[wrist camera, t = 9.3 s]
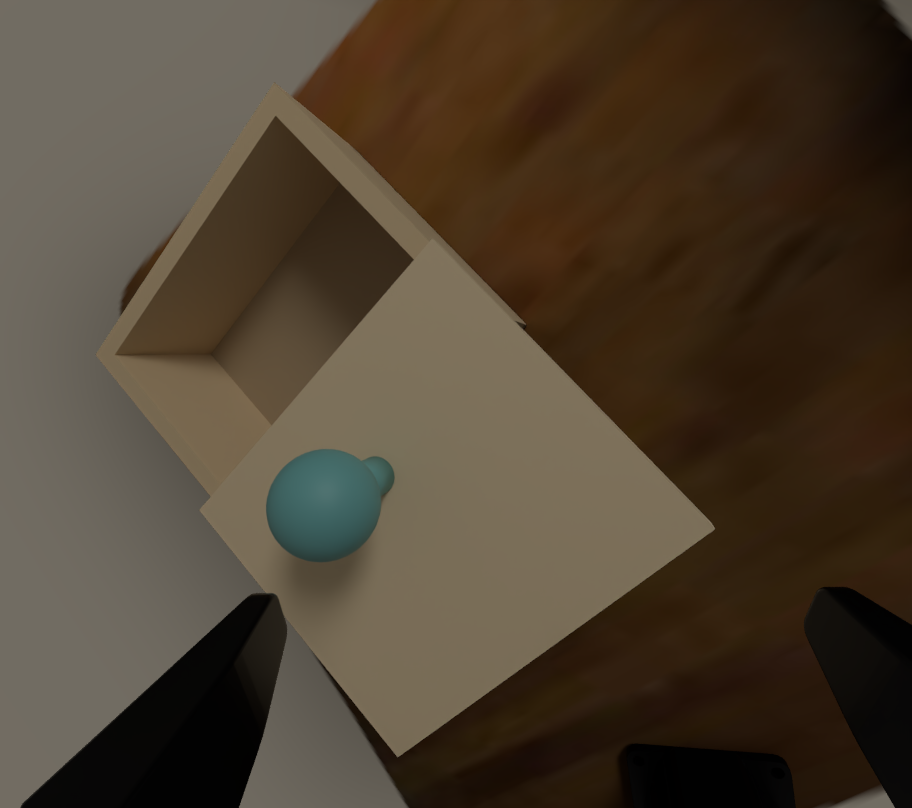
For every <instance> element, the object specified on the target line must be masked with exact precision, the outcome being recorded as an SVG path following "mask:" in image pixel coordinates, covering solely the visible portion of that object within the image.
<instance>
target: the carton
mask: <svg viewBox="0 0 912 808" xmlns="http://www.w3.org/2000/svg"><path fill="white" fill-rule="evenodd" d="M431 239H434V240H435V241H437V242H438V243H439V244H440V245H441V246H442V247H443V248H444V249H445V250H446V251H447V252H448V253H449V254H450V255H451V256H452V257H453V258H454V259H455V260H456V261H457V262H458V263H459V264H460V265H461V266H462V267H463V268H464V270H465V271H466V272H467V273H468V274H469V275H470V276H471V277H472V278H473V279H474V280H475V281H476V282H477V283H478V284H479V285H480V286H481V287H482V288H483V289H484V290H485V291H486V292H487V293H488V294H489V295H490V296H491V297H492V298H493V299H494V300H495V301H496V302H497V303H498V304H499V305H500V306H501V307H502V308H503V309H504V311H505V312H506V313H507V314H508V315H509V316H510V317H511V318H512V319H513V320H514V321H515V322H516V323H517V324H518V325H519V326H520V327H521V328H522V329H524V328H525V327H526V326H527V325H526V323H525V322H524V321H523V320H522V319H521V318H520V317H519V316H518V315H517V314H516V313H515V312H514V311H513V310H512V309H511V308H510V307H509V306H508V305H507V304H506V303H505V302H504V301H503V300H502V299H501V298H500V297H499V296H498V295H497V294H496V293H495V292H494V291H493V290H492V289H491V288H490V287H489V286H488V285H487V284H486V283H485V282H484V281H483V280H482V279H481V277H480V276H479V275H478V274H477V273H476V272H475V271H474V270H473V269H472V268H471V267H470V266H469V265H468V264H467V263H466V262H465V261H464V260H463V259H462V258H461V257H460V256H459V255H458V254H457V253H456V252H455V251H454V250H453V249H452V248H451V247H450V246H449V245H448V244H447V243H446V242H445V241H444V240H443V239H442V238H441V237H440V236H439V235H438V234H437V233H436V231H435V230H434V229H433V228H432V227H431V226H430V225H429V224H428V223H427V222H426V221H425V220H424V219H423V218H422V217H421V216H420V215H419V214H418V213H417V212H416V211H415V210H414V209H413V208H412V207H411V206H410V205H409V204H408V203H407V202H406V201H405V200H404V199H403V198H402V197H401V196H400V195H399V194H398V193H397V192H396V191H395V190H394V189H393V188H392V187H391V185H390V184H389V183H388V182H387V181H386V180H385V179H384V178H383V177H382V176H381V175H380V174H379V173H378V172H377V171H376V170H375V169H374V168H373V167H372V166H371V165H370V164H369V163H368V162H367V161H366V160H365V159H364V158H363V157H362V156H361V155H360V154H359V153H358V152H357V151H356V150H355V149H354V148H353V147H352V146H350V145H349V144H348V143H347V142H346V141H344V140H343V139H342V138H341V137H340V136H338V135H337V134H336V133H335V132H334V131H332V130H331V129H330V128H329V127H328V126H326V125H325V124H324V123H323V122H322V121H320V120H319V119H318V118H317V117H316V116H314V115H313V114H312V113H311V112H310V111H308V110H307V109H306V108H305V107H304V106H302V105H301V104H300V103H299V102H298V101H296V100H295V99H294V98H293V97H291V96H290V95H289V94H288V93H287V92H285V91H284V90H283V89H282V88H281V87H279V86H278V85H277V84H276V83H274V84H273V85H272V87H271V88H270V90H269V91H268V93H267V94H266V96H265V97H264V99H263V100H262V102H261V103H260V105H259V106H258V108H257V110H256V111H255V113H254V114H253V116H252V117H251V119H250V120H249V122H248V123H247V125H246V126H245V128H244V129H243V131H242V132H241V134H240V135H239V137H238V139H237V140H236V142H235V143H234V144H233V146H232V148H231V149H230V151H229V152H228V154H227V155H226V157H225V158H224V160H223V161H222V163H221V164H220V166H219V167H218V169H217V170H216V172H215V173H214V175H213V177H212V178H211V180H210V181H209V183H208V184H207V186H206V187H205V189H204V190H203V192H202V193H201V195H200V196H199V198H198V199H197V201H196V202H195V204H194V206H193V207H192V208H191V210H190V212H189V213H188V215H187V216H186V218H185V219H184V221H183V222H182V224H181V225H180V227H179V228H178V230H177V231H176V233H175V234H174V236H173V237H172V239H171V240H170V242H169V244H168V245H167V247H166V248H165V250H164V251H163V253H162V254H161V256H160V257H159V259H158V260H157V262H156V263H155V265H154V266H153V268H152V269H151V271H150V272H149V274H148V276H147V277H146V279H145V280H144V282H143V283H142V285H141V286H140V288H139V289H138V291H137V292H136V294H135V295H134V297H133V298H132V300H131V301H130V303H129V304H128V306H127V307H126V309H125V311H124V312H123V314H122V315H121V317H120V318H119V320H118V321H117V323H116V324H115V326H114V327H113V329H112V331H111V332H110V333H109V335H108V336H107V338H106V339H105V341H104V343H103V344H102V346H101V347H100V349H99V350H98V352H97V353H96V356H97V357H98V358H99V360H100V361H101V362H102V363H103V365H104V366H105V367H106V368H107V370H108V371H109V372H110V373H111V374H112V376H113V377H114V378H115V379H116V381H117V382H118V383H119V384H120V386H121V387H122V388H123V389H124V391H125V392H126V393H127V394H128V395H129V397H130V398H131V399H132V400H133V402H134V403H135V404H136V405H137V407H138V408H139V409H140V410H141V411H142V413H143V414H144V415H145V416H146V418H147V419H148V420H149V421H150V423H151V424H152V425H153V426H154V427H155V429H156V430H157V431H158V432H159V434H160V435H161V436H162V437H163V439H165V441H166V442H167V444H168V445H169V446H170V447H171V448H172V450H173V451H174V452H175V453H176V455H178V457H179V458H180V460H181V461H182V462H183V463H184V464H185V466H186V467H187V468H188V469H189V471H190V472H191V473H192V474H193V476H194V477H195V478H196V479H197V480H198V482H199V483H200V484H201V485H202V487H203V488H204V489H205V490H206V492H207V493H208V494H209V495H210V497H211V496H212V494H213V493H214V492H215V491H216V490H217V489H218V487H219V486H220V485H221V484H222V483H223V482H224V481H225V479H226V478H227V477H228V476H229V475H230V474H231V472H232V471H233V470H234V469H235V468H236V467H237V465H238V464H239V463H240V462H241V461H242V460H243V458H244V457H245V456H246V455H247V454H248V453H249V451H250V450H251V449H252V448H253V447H254V446H255V444H256V443H257V442H258V441H259V440H260V439H261V437H262V436H263V435H264V434H265V433H266V432H267V430H268V429H269V428H270V427H271V426H272V425H273V423H274V422H275V421H276V420H277V419H278V418H279V416H280V415H281V414H282V413H283V412H284V411H285V409H286V408H287V407H288V406H289V405H290V404H291V402H292V401H293V400H294V399H295V398H296V397H297V395H298V394H299V393H300V392H301V391H302V390H303V388H304V387H305V386H306V385H307V384H308V383H309V381H310V380H311V379H312V378H313V377H314V376H315V374H316V373H317V372H318V371H319V370H320V369H321V367H322V366H323V365H324V364H325V363H326V362H327V360H328V359H329V358H330V357H331V356H332V355H333V353H334V352H335V351H336V350H337V349H338V348H339V346H340V345H341V344H342V343H343V342H344V341H345V339H346V338H347V337H348V336H349V335H350V334H351V332H352V331H353V330H354V329H355V328H356V327H357V326H358V324H359V323H360V322H361V321H362V320H363V319H364V317H365V316H366V315H367V314H368V313H369V312H370V310H371V309H372V308H373V307H374V306H375V305H376V303H377V302H378V301H379V300H380V299H381V298H382V296H383V295H384V294H385V293H386V292H387V291H388V289H389V288H390V287H391V286H392V285H393V284H394V282H395V281H396V280H397V279H398V278H399V277H400V275H401V274H402V273H403V272H404V271H405V270H406V268H407V267H408V266H409V265H410V264H411V263H412V261H413V260H414V259H415V258H416V257H417V256H418V254H419V253H420V252H421V251H422V250H423V249H424V247H425V246H426V245H427V244H428V243H429V242H430V240H431Z"/></svg>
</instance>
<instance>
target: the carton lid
mask: <svg viewBox="0 0 912 808" xmlns="http://www.w3.org/2000/svg"><path fill="white" fill-rule="evenodd" d="M199 511H200V512H201V513H202V514H203V516H204V517H205V518H206V519H207V521H208V522H209V523H210V524H211V526H212V527H213V528H214V529H215V530H216V532H217V533H218V534H219V535H220V536H221V538H222V539H223V541H224V542H225V543H226V544H227V545H228V547H229V548H230V549H231V550H232V552H233V553H234V554H235V555H236V557H237V558H238V559H239V560H240V562H241V563H242V564H243V565H244V567H245V568H246V569H247V570H248V572H249V573H250V574H251V575H252V577H253V578H254V579H255V580H256V582H257V583H258V584H259V585H260V587H261V588H262V589H263V590H264V591H265V593H274V594H276V595H277V596H278V598H279V601H280V605H281V608H282V611H283V615H284V616H285V617H286V619H287V620H288V621H289V623H290V624H291V625H292V626H293V628H294V629H295V630H296V631H297V633H298V634H299V635H300V636H301V638H302V639H303V640H304V641H305V643H306V644H307V645H308V646H309V648H310V649H311V650H312V651H313V653H314V654H315V655H316V656H317V658H318V659H319V660H320V661H321V662H322V664H323V665H324V666H325V667H326V669H327V670H328V671H329V672H330V674H331V675H332V676H333V677H334V679H335V680H336V681H337V682H338V684H339V685H340V686H341V687H342V689H343V690H344V691H345V692H346V694H347V695H348V696H349V697H350V699H351V700H352V701H353V702H354V704H355V705H356V706H357V707H358V709H359V710H360V711H361V712H362V714H363V715H364V716H365V717H366V718H367V720H368V721H369V722H370V723H371V725H372V726H373V727H374V728H375V730H376V731H377V732H378V733H379V735H380V736H381V737H382V738H383V740H384V741H385V742H386V743H387V745H388V746H389V747H390V748H391V750H392V751H393V752H394V753H395V755H396V756H397V757H399V756H400V755H402V754H403V753H404V752H406V751H407V750H409V749H410V748H411V747H413V746H414V745H416V744H417V743H418V742H420V741H421V740H423V739H424V738H425V737H427V736H428V735H430V734H431V733H432V732H434V731H435V730H436V729H438V728H439V727H441V726H442V725H443V724H445V723H446V722H448V721H449V720H450V719H452V718H453V717H455V716H456V715H457V714H459V713H460V712H462V711H463V710H464V709H466V708H467V707H468V706H470V705H471V704H473V703H474V702H475V701H477V700H478V699H480V698H481V697H482V696H484V695H485V694H487V693H488V692H489V691H491V690H492V689H493V688H495V687H496V686H498V685H499V684H500V683H502V682H503V681H505V680H506V679H507V678H509V677H510V676H512V675H513V674H514V673H516V672H517V671H519V670H520V669H521V668H523V667H524V666H525V665H527V664H528V663H530V662H531V661H532V660H534V659H535V658H537V657H538V656H539V655H541V654H542V653H544V652H545V651H546V650H548V649H549V648H550V647H552V646H553V645H555V644H556V643H557V642H559V641H560V640H562V639H563V638H564V637H566V636H567V635H569V634H570V633H571V632H573V631H574V630H576V629H577V628H578V627H580V626H581V625H582V624H584V623H585V622H587V621H588V620H589V619H591V618H592V617H594V616H595V615H596V614H598V613H599V612H601V611H602V610H603V609H605V608H606V607H607V606H609V605H610V604H612V603H613V602H614V601H616V600H617V599H619V598H620V597H621V596H623V595H624V594H626V593H627V592H628V591H630V590H631V589H633V588H634V587H635V586H637V585H638V584H639V583H641V582H642V581H644V580H645V579H646V578H648V577H649V576H651V575H652V574H653V573H655V572H656V571H658V570H659V569H660V568H662V567H663V566H665V565H666V564H667V563H669V562H670V561H671V560H673V559H674V558H676V557H677V556H678V555H680V554H681V553H683V552H684V551H685V550H687V549H688V548H690V547H691V546H692V545H694V544H695V543H696V542H698V541H699V540H701V539H702V538H703V537H705V536H706V535H708V534H709V533H710V532H712V531H713V530H715V528H714V526H713V525H712V523H711V522H710V521H709V520H708V519H707V518H706V517H705V516H704V515H703V514H702V513H701V512H700V511H699V509H698V508H697V507H696V506H695V505H694V504H693V503H692V502H691V501H690V500H689V499H688V498H687V497H686V496H685V495H684V494H683V493H682V492H681V491H680V490H679V489H678V488H677V487H676V486H675V485H674V484H673V483H672V482H671V481H670V480H669V479H668V478H667V477H666V476H665V475H664V474H663V473H662V472H661V471H660V469H659V468H658V467H657V466H656V465H655V464H654V463H653V462H652V461H651V460H650V459H649V458H648V457H647V456H646V455H645V454H644V453H643V452H642V451H641V450H640V449H639V448H638V447H637V446H636V445H635V444H634V443H633V442H632V441H631V440H630V439H629V438H628V437H627V436H626V435H625V434H624V433H623V432H622V431H621V429H620V428H619V427H618V426H617V425H616V424H615V423H614V422H613V421H612V420H611V419H610V418H609V417H608V416H607V415H606V414H605V413H604V412H603V411H602V410H601V409H600V408H599V407H598V406H597V405H596V404H595V403H594V402H593V401H592V400H591V399H590V398H589V397H588V396H587V395H586V394H585V393H584V392H583V391H582V389H581V388H580V387H579V386H578V385H577V384H576V383H575V382H574V381H573V380H572V379H571V378H570V377H569V376H568V375H567V374H566V373H565V372H564V371H563V370H562V369H561V368H560V367H559V366H558V365H557V364H556V363H555V362H554V361H553V360H552V359H551V358H550V357H549V356H548V355H547V354H546V353H545V352H544V351H543V349H542V348H541V347H540V346H539V345H538V344H537V343H536V342H535V341H534V340H533V339H532V338H531V337H530V336H529V335H528V334H527V333H526V332H525V331H524V330H523V329H522V328H521V327H520V326H519V325H518V324H517V323H516V322H515V321H514V320H513V319H512V318H511V317H510V316H509V315H508V314H507V313H506V312H505V311H504V309H503V308H502V307H501V306H500V305H499V304H498V303H497V302H496V301H495V300H494V299H493V298H492V297H491V296H490V295H489V294H488V293H487V292H486V291H485V290H484V289H483V288H482V287H481V286H480V285H479V284H478V283H477V282H476V281H475V280H474V279H473V278H472V277H471V276H470V275H469V274H468V273H467V272H466V271H465V270H464V268H463V267H462V266H461V265H460V264H459V263H458V262H457V261H456V260H455V259H454V258H453V257H452V256H451V255H450V254H449V253H448V252H447V251H446V250H445V249H444V248H443V247H442V246H441V245H440V244H439V243H438V242H437V241H435V240H434V239H431V240H430V242H429V243H428V244H427V245H426V246H425V247H424V249H423V250H422V251H421V252H420V253H419V254H418V256H417V257H416V258H415V259H414V260H413V261H412V263H411V264H410V265H409V266H408V267H407V268H406V270H405V271H404V272H403V273H402V274H401V275H400V277H399V278H398V279H397V280H396V281H395V282H394V284H393V285H392V286H391V287H390V288H389V289H388V291H387V292H386V293H385V294H384V295H383V296H382V298H381V299H380V300H379V301H378V302H377V303H376V305H375V306H374V307H373V308H372V309H371V310H370V312H369V313H368V314H367V315H366V316H365V317H364V319H363V320H362V321H361V322H360V323H359V324H358V326H357V327H356V328H355V329H354V330H353V331H352V332H351V334H350V335H349V336H348V337H347V338H346V339H345V341H344V342H343V343H342V344H341V345H340V346H339V348H338V349H337V350H336V351H335V352H334V353H333V355H332V356H331V357H330V358H329V359H328V360H327V362H326V363H325V364H324V365H323V366H322V367H321V369H320V370H319V371H318V372H317V373H316V374H315V376H314V377H313V378H312V379H311V380H310V381H309V383H308V384H307V385H306V386H305V387H304V388H303V390H302V391H301V392H300V393H299V394H298V395H297V397H296V398H295V399H294V400H293V401H292V402H291V404H290V405H289V406H288V407H287V408H286V409H285V411H284V412H283V413H282V414H281V415H280V416H279V418H278V419H277V420H276V421H275V422H274V423H273V425H272V426H271V427H270V428H269V429H268V430H267V432H266V433H265V434H264V435H263V436H262V437H261V439H260V440H259V441H258V442H257V443H256V444H255V446H254V447H253V448H252V449H251V450H250V451H249V453H248V454H247V455H246V456H245V457H244V458H243V460H242V461H241V462H240V463H239V464H238V465H237V467H236V468H235V469H234V470H233V471H232V472H231V474H230V475H229V476H228V477H227V478H226V479H225V481H224V482H223V483H222V484H221V485H220V486H219V487H218V489H217V490H216V491H215V492H214V493H213V494H212V496H211V497H210V498H209V499H208V500H207V501H206V503H205V504H204V505H203V506H202V507H201V508H200V510H199Z"/></svg>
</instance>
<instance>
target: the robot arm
mask: <svg viewBox="0 0 912 808" xmlns="http://www.w3.org/2000/svg"><path fill="white" fill-rule="evenodd" d="M804 629H805V633H806V636H807V639H808V641H809V643H810V645H811V647H812V649H813V651H814V653H815V656H816V658H817V660H818V662H819V664H820V666H821V668H822V670H823V673H824V675H825V677H826V679H827V681H828V683H829V685H830V687H831V690H832V692H833V694H834V696H835V698H836V700H837V702H838V704H839V706H840V709H841V711H842V713H843V715H844V717H845V719H846V721H847V723H848V725H849V727H850V729H851V731H852V733H853V735H854V737H855V739H856V741H857V742H858V744H859V746H860V748H861V750H862V751H863V753H864V755H865V757H866V759H867V760H868V762H869V764H870V765H871V767H872V769H873V771H874V772H875V774H876V776H877V777H878V779H879V781H880V783H881V784H882V786H883V788H884V790H885V791H886V793H887V795H888V796H889V798H890V800H891V802H892V803H893V805H894V807H895V808H912V625H911V624H909V623H908V622H906V621H904V620H903V619H901V618H899V617H898V616H896V615H894V614H893V613H891V612H889V611H888V610H886V609H885V608H883V607H881V606H880V605H878V604H876V603H875V602H873V601H871V600H870V599H868V598H866V597H865V596H863V595H862V594H860V593H858V592H857V591H855V590H853V589H850V588H847V587H823V588H820V589H819V590H818V591H817V592H816V594H815V596H814V599H813V601H812V603H811V606H810V608H809V610H808V612H807V615H806V617H805V620H804ZM286 637H287V625H286V621H285V618H284V615H283V611H282V608H281V605H280V601H279V598H278V596H277V595H276V594H274V593H256V594H251V595H250V596H248V597H247V598H246V599H245V600H244V601H242V602H241V603H240V604H239V605H238V606H237V607H236V608H235V609H234V610H233V611H232V612H231V613H229V614H228V615H227V616H226V617H225V618H224V619H223V620H222V621H221V622H220V623H219V624H217V625H216V626H215V627H214V628H213V629H212V630H211V631H210V632H209V633H208V634H207V635H205V636H204V637H203V638H202V639H201V640H200V641H199V642H198V643H197V644H196V645H195V646H193V648H191V649H190V650H189V651H188V652H187V653H186V654H185V655H184V656H183V657H181V658H180V660H178V661H177V662H176V663H175V664H174V665H173V666H172V667H171V668H170V669H168V670H167V671H166V672H165V673H164V674H163V675H162V676H161V677H160V678H159V679H158V680H157V681H155V682H154V683H153V684H152V685H151V686H150V687H149V688H148V689H147V690H146V691H144V692H143V693H142V694H141V695H140V696H139V697H138V698H137V699H136V700H135V701H134V702H132V703H131V704H130V706H128V707H127V708H126V709H125V710H124V711H123V712H122V713H120V714H119V715H118V716H117V717H116V718H115V719H114V720H113V721H112V722H111V723H110V724H108V725H107V726H106V727H105V728H104V729H103V730H102V731H101V732H100V733H99V734H98V735H97V736H95V737H94V738H93V739H92V740H91V741H90V742H89V743H88V744H87V745H86V746H85V747H84V748H82V749H81V750H80V751H79V752H78V753H77V754H76V755H75V756H74V757H73V758H71V759H70V760H69V761H68V762H67V763H66V764H65V765H64V766H63V767H62V768H61V769H59V770H58V771H57V772H56V773H55V774H54V775H53V776H52V777H51V778H50V779H49V780H47V781H46V782H45V783H44V784H43V785H42V786H41V787H40V788H39V789H38V790H37V791H36V792H34V793H33V794H32V795H31V796H30V797H29V798H28V799H27V800H26V801H25V802H24V803H23V804H22V805H21V808H239V806H240V803H241V799H242V797H243V794H244V791H245V788H246V785H247V782H248V779H249V776H250V773H251V770H252V767H253V765H254V762H255V758H256V756H257V753H258V750H259V746H260V743H261V740H262V737H263V733H264V729H265V725H266V722H267V718H268V714H269V709H270V705H271V701H272V697H273V692H274V688H275V684H276V680H277V676H278V672H279V667H280V663H281V659H282V655H283V651H284V646H285V642H286ZM635 756H640V757H642V759H637V758H635ZM627 763H628V770H629V777H630V783H631V790H632V797H633V803H634V808H796V806H795V799H794V791H793V783H792V775H791V772H790V769H789V767H788V765H787V763H786V761H785V760H784V759H783V758H782V757H780V756H778V755H774V754H763V753H750V752H737V751H724V750H711V749H698V748H685V747H672V746H659V745H646V744H632V745H630V746H629V747H628V748H627ZM776 767H777V768H781V769H780V770H778V771H774V770H772V769H773V768H776Z"/></svg>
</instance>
